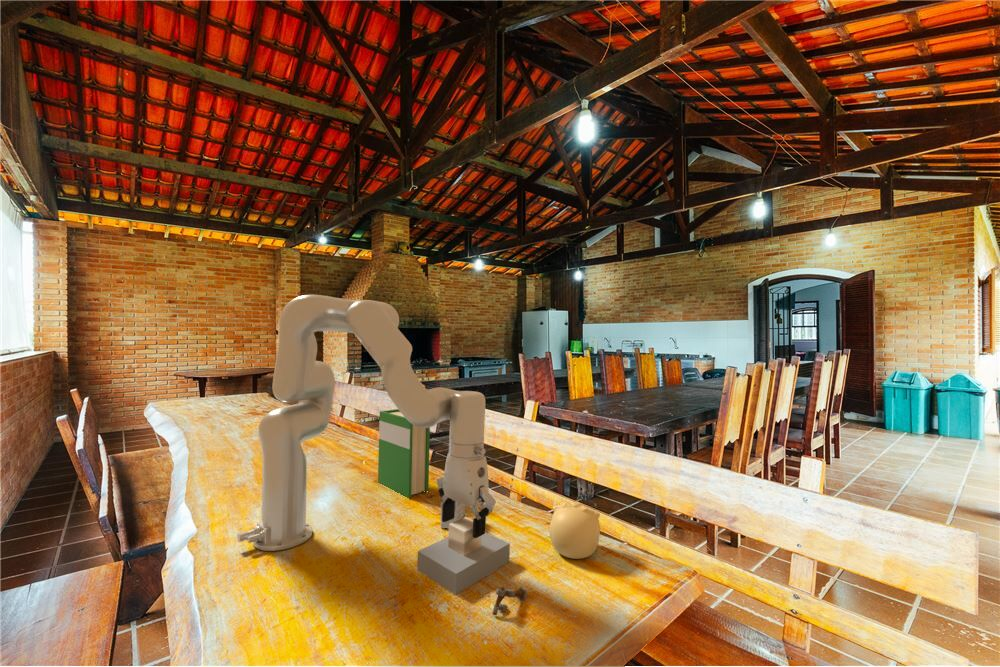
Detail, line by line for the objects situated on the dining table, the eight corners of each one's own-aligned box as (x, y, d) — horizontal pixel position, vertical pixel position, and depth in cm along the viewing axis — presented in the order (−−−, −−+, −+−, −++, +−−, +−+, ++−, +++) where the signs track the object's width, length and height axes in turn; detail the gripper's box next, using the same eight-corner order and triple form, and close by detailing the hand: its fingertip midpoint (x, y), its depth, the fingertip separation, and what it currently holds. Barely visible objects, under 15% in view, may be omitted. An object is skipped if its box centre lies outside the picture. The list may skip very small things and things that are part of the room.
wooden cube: (463, 556, 85) (464, 531, 85) (448, 547, 89) (448, 524, 89) (481, 547, 89) (481, 524, 89) (465, 539, 92) (465, 516, 92)
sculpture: (601, 543, 100) (602, 499, 100) (596, 569, 88) (597, 519, 88) (555, 535, 103) (555, 492, 103) (544, 559, 92) (545, 511, 92)
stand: (455, 594, 79) (456, 573, 79) (417, 570, 87) (417, 551, 87) (509, 561, 91) (509, 543, 91) (471, 542, 99) (471, 525, 99)
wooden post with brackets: (486, 612, 73) (494, 584, 74) (513, 611, 78) (520, 585, 79) (494, 617, 72) (501, 589, 73) (520, 615, 77) (527, 589, 78)
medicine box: (456, 530, 105) (457, 496, 105) (440, 528, 106) (440, 494, 106) (465, 517, 112) (466, 485, 112) (449, 515, 113) (450, 484, 113)
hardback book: (428, 492, 129) (430, 416, 129) (408, 499, 124) (410, 419, 124) (397, 478, 141) (398, 408, 141) (377, 483, 136) (379, 411, 136)
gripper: (507, 454, 86) (504, 536, 86) (452, 438, 97) (449, 510, 97) (482, 461, 80) (479, 549, 80) (427, 443, 92) (424, 519, 92)
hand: (463, 527), depth 89 cm, fingers open, 9 cm apart
